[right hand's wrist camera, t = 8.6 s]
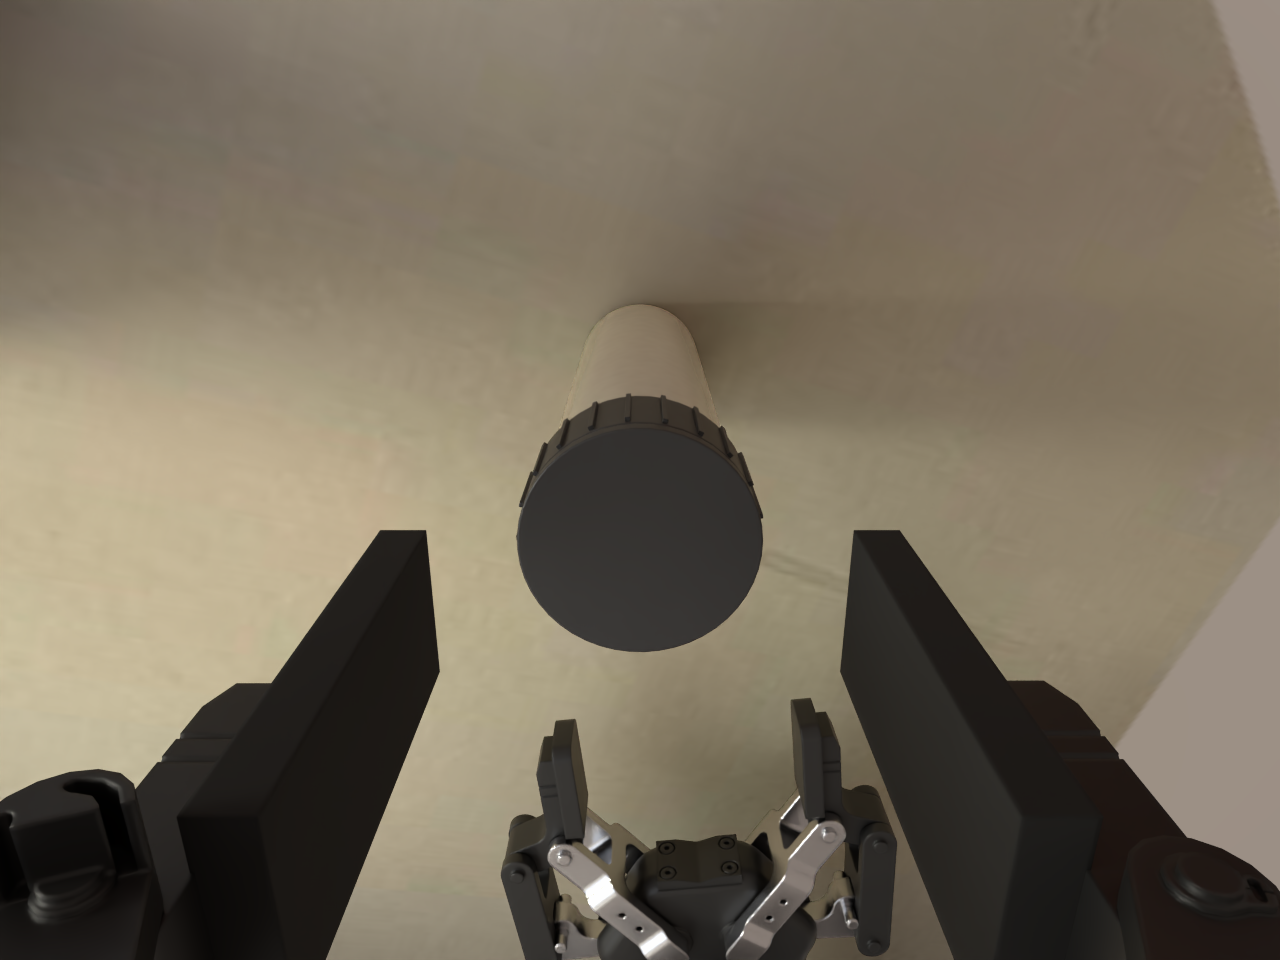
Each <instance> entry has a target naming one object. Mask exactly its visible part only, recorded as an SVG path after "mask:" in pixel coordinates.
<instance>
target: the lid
mask: <svg viewBox="0 0 1280 960" xmlns="http://www.w3.org/2000/svg"><path fill="white" fill-rule="evenodd" d="M753 485H754V484H753V481H752V479H751V476H750V473H749V470H748V467H747V465H746V462H745V459H744V456H743V454H742V452H740V453H737V451H736V449H735V447H734V445H733V444H732V443H731V441H730V440H729V438H728V437H727V434H726V431H725V428H724V427H723V426H721V427H720V428H719V427H718V426H717V425H716V424H715V423H713V422H712V421H711V420H710V419H708V418H707V417H706V416H705V415H703V414H701V413H700V412H699V409H698V408H697V407H696V406H694V407H693V408H691V407H688V406H686V405H684V404H681V403H679V402H676V401H672V400H669V399H666V396H665V395H661V397H660V398H659V397H652V396H631V393H628V394H626V397H620V398H616V399H611V400H607V401H604V402H601V403H599V404H598V402H597V401H595V402H593V403H592V406H591V407H589V408H588V409H586V410H584V411H582V412H580V413H579V414H577V415H576V416H574V417H573V418H572V419H570V420H568V418H566V419H565V420H564V421H563V424H562V427H561V428H560V429H559V430H558V431H557V432H556V433H555V435H554V436H553V437H552V438H551V440H550V441H549V442H548V444H546V443H545V442H544V443H543V445H542V447H541V450H540V453H539V456H538V459H537V462H536V464H535V467H534V470H533V472H530V475H529V478H528V481H527V484H526V486H525V489H524V492H523V495H522V498H521V500H520V504H519V507H522V510H521V514H520V518H519V523H518V532H517V536H516V537H517V550H518V556H519V561H520V566H521V569H522V572H523V575H524V578H525V580H526V582H527V584H528V587H529V589H530V591H531V592H532V594H533V595H534V597H535V598H536V600H537V601H538V603H539V604H540V605H541V607H542V608H543V609H544V610H545V611H546V612H547V613H548V615H549V616H550V617H552V618H553V619H554V620H555V621H556V622H557V623H558V624H559V625H561V626H562V627H564V628H565V629H567V630H568V631H569V632H571V633H572V634H574V635H576V636H578V637H580V638H582V639H584V640H586V641H588V642H591V643H594V644H596V645H599V646H602V647H606V648H610V649H614V650H621V651H629V652H650V651H660V650H665V649H670V648H674V647H678V646H681V645H684V644H687V643H690V642H692V641H694V640H696V639H698V638H700V637H702V636H704V635H706V634H707V633H709V632H710V631H712V630H714V629H715V628H717V627H718V626H719V625H720V624H721V623H723V622H724V621H725V620H726V619H728V617H729V616H730V615H731V614H732V613H733V612H734V611H735V610H736V609H737V608H738V607H739V605H740V604H741V603H742V601H743V600H744V599H745V597H746V596H747V594H748V592H749V590H750V588H751V587H752V585H753V583H754V580H755V578H756V575H757V572H758V570H759V565H760V561H761V557H762V547H763V532H762V523H761V518H763V514H762V511H761V508H760V505H759V502H758V499H757V497H756V494H755V491H754V488H753Z"/></svg>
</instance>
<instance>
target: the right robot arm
mask: <svg viewBox="0 0 1280 960" xmlns="http://www.w3.org/2000/svg"><path fill="white" fill-rule="evenodd" d="M439 672H440V669H439V659H438V648H437V638H436V628H435V617H434V607H433V596H432V586H431V576H430V565H429V555H428V545H427V534H426V530H380V532H379V533H378V534H377V536H376V537H375V539H374V540H373V541H372V543H371V544H370V546H369V547H368V548H367V550H366V551H365V553H364V554H363V555H362V557H361V558H360V560H359V561H358V562H357V564H356V565H355V567H354V568H353V569H352V571H351V572H350V574H349V575H348V576H347V578H346V579H345V581H344V582H343V583H342V585H341V586H340V588H339V589H338V590H337V592H336V593H335V595H334V596H333V597H332V599H331V600H330V602H329V603H328V605H327V606H326V607H325V609H324V610H323V612H322V613H321V614H320V616H319V617H318V619H317V620H316V621H315V623H314V624H313V626H312V627H311V628H310V630H309V631H308V633H307V634H306V635H305V637H304V638H303V640H302V641H301V642H300V644H299V645H298V647H297V648H296V649H295V651H294V652H293V654H292V655H291V656H290V658H289V659H288V661H287V662H286V663H285V665H284V666H283V668H282V669H281V670H280V672H279V673H278V675H277V676H276V678H275V679H274V680H273V682H272V683H237V684H235V685H234V686H232V687H231V688H229V689H228V690H226V691H225V692H223V693H222V694H220V695H219V696H217V697H216V698H214V699H213V700H211V701H210V702H208V703H207V704H206V705H204V706H203V707H202V708H201V709H200V710H199V711H198V713H197V714H196V715H195V716H194V718H193V719H192V720H191V721H190V723H189V724H188V725H187V726H186V728H185V729H184V730H183V731H182V732H181V736H180V739H176V740H175V741H174V742H173V744H172V745H171V746H170V747H169V749H168V750H167V751H166V752H165V753H164V755H163V756H162V761H161V762H157V763H156V765H155V766H154V767H153V768H152V770H151V771H150V772H149V773H148V774H147V776H146V777H145V778H144V779H143V781H142V782H141V783H140V784H139V786H138V787H137V788H136V789H135V787H134V784H133V783H132V782H131V781H130V780H128V779H127V778H126V777H125V776H124V775H122V774H121V773H117V772H112V771H106V770H100V769H95V770H85V771H75V772H68V773H65V774H61V775H58V776H55V777H51V778H48V779H45V780H41V781H38V782H36V783H34V784H32V785H30V786H28V787H26V788H24V789H22V790H20V791H18V792H16V793H14V794H12V795H10V796H8V797H6V798H4V799H3V800H2V801H0V960H326V958H327V955H328V953H329V950H330V947H331V945H332V942H333V940H334V937H335V935H336V932H337V930H338V927H339V925H340V922H341V920H342V917H343V915H344V912H345V910H346V907H347V905H348V902H349V900H350V897H351V894H352V892H353V889H354V887H355V884H356V882H357V879H358V877H359V874H360V872H361V869H362V867H363V864H364V862H365V859H366V857H367V854H368V852H369V849H370V846H371V844H372V841H373V839H374V836H375V834H376V831H377V829H378V826H379V824H380V821H381V819H382V816H383V814H384V811H385V809H386V806H387V804H388V801H389V798H390V796H391V793H392V791H393V788H394V786H395V783H396V781H397V778H398V776H399V773H400V771H401V768H402V766H403V763H404V761H405V758H406V756H407V753H408V751H409V748H410V745H411V743H412V740H413V738H414V735H415V733H416V730H417V728H418V725H419V723H420V720H421V718H422V715H423V713H424V710H425V708H426V705H427V703H428V700H429V697H430V695H431V692H432V690H433V687H434V685H435V682H436V680H437V677H438V675H439ZM840 672H841V675H842V677H843V680H844V682H845V685H846V687H847V690H848V692H849V695H850V697H851V700H852V703H853V705H854V708H855V710H856V713H857V715H858V718H859V720H860V723H861V725H862V728H863V730H864V733H865V735H866V738H867V740H868V743H869V745H870V748H871V750H872V753H873V756H874V758H875V761H876V763H877V766H878V768H879V771H880V773H881V776H882V778H883V781H884V783H885V786H886V788H887V791H888V793H889V796H890V798H891V801H892V804H893V806H894V809H895V811H896V814H897V816H898V819H899V821H900V824H901V826H902V829H903V831H904V834H905V836H906V839H907V841H908V844H909V846H910V849H911V852H912V854H913V857H914V859H915V862H916V864H917V867H918V869H919V872H920V874H921V877H922V879H923V882H924V884H925V887H926V889H927V892H928V894H929V897H930V900H931V902H932V905H933V907H934V910H935V912H936V915H937V917H938V920H939V922H940V925H941V927H942V930H943V932H944V935H945V937H946V940H947V942H948V945H949V947H950V950H951V953H952V955H953V958H954V960H1280V891H1279V890H1278V888H1277V887H1276V886H1275V885H1274V884H1273V883H1272V882H1271V881H1270V880H1268V879H1267V878H1266V877H1265V876H1264V875H1263V874H1261V873H1260V872H1259V871H1258V870H1257V869H1255V868H1254V867H1253V866H1252V865H1250V864H1249V863H1247V862H1245V861H1243V860H1241V859H1240V858H1238V857H1236V856H1234V855H1232V854H1231V853H1229V852H1227V851H1225V850H1223V849H1221V848H1218V847H1216V846H1212V845H1209V844H1207V843H1204V842H1201V841H1198V840H1195V839H1192V838H1187V837H1186V836H1185V834H1184V833H1183V832H1182V831H1181V830H1180V828H1179V827H1178V826H1177V825H1176V823H1175V822H1174V821H1173V820H1172V818H1171V817H1170V816H1169V815H1168V814H1167V812H1166V811H1165V810H1164V809H1163V807H1162V806H1161V805H1160V804H1159V803H1158V801H1157V800H1156V799H1155V798H1154V796H1153V795H1152V794H1151V793H1150V791H1149V790H1148V789H1147V788H1146V787H1145V785H1144V784H1143V783H1142V782H1141V780H1140V779H1139V778H1138V777H1137V775H1136V774H1135V773H1134V772H1133V771H1132V769H1131V768H1130V767H1129V766H1128V764H1127V763H1126V762H1125V761H1124V760H1123V759H1119V756H1118V752H1117V751H1116V750H1115V748H1114V747H1113V746H1112V745H1111V744H1110V742H1109V741H1108V740H1107V739H1106V737H1105V736H1101V735H1100V730H1099V729H1098V728H1097V726H1096V725H1095V724H1094V723H1093V721H1092V720H1091V719H1090V718H1089V717H1088V715H1087V714H1086V713H1085V712H1084V710H1083V709H1082V708H1081V707H1080V706H1079V704H1078V703H1076V702H1075V701H1073V700H1072V699H1070V698H1069V697H1067V696H1066V695H1064V694H1063V693H1061V692H1060V691H1058V690H1057V689H1055V688H1054V687H1052V686H1051V685H1049V684H1048V683H1046V682H1045V681H1007V680H1006V679H1005V677H1004V676H1003V675H1002V673H1001V672H1000V670H999V669H998V668H997V666H996V665H995V663H994V662H993V661H992V659H991V658H990V656H989V655H988V654H987V652H986V651H985V649H984V648H983V647H982V645H981V644H980V642H979V641H978V640H977V638H976V637H975V635H974V634H973V633H972V631H971V630H970V628H969V627H968V626H967V624H966V623H965V621H964V620H963V619H962V617H961V616H960V614H959V613H958V612H957V610H956V609H955V607H954V606H953V605H952V603H951V602H950V600H949V599H948V597H947V596H946V595H945V593H944V592H943V590H942V589H941V588H940V586H939V585H938V583H937V582H936V581H935V579H934V578H933V576H932V575H931V574H930V572H929V571H928V569H927V568H926V567H925V565H924V564H923V562H922V561H921V560H920V558H919V557H918V555H917V554H916V553H915V551H914V550H913V548H912V547H911V546H910V544H909V543H908V541H907V540H906V539H905V537H904V536H903V534H902V533H901V532H900V530H854V534H853V545H852V555H851V565H850V576H849V586H848V597H847V607H846V617H845V628H844V638H843V648H842V659H841V669H840Z"/></svg>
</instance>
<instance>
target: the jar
mask: <svg viewBox="0 0 1280 960" xmlns="http://www.w3.org/2000/svg"><path fill="white" fill-rule="evenodd" d="M628 393H631V396H652V397H659V398H660V397H661V395H665V396H666V399H669V400H672V401H676V402H679V403H681V404H684V405H686V406H688V407H691V408H693V407H694V406H696V407H697V408H698V409H699V412H700V413H701V414H703V415H705V416H706V417H707V418H708V419H710V420H711V421H712V422H713V423H715V424H716V425H717V426H718V427H719V428H720V427H721V426H720V423H719V419H718V416H717V413H716V410H715V407H714V403H713V400H712V397H711V394H710V390H709V387H708V384H707V381H706V377H705V374H704V371H703V368H702V365H701V361H700V358H699V355H698V352H697V348H696V345H695V343H694V340H693V337H692V336H691V334H690V332H689V330H688V329H687V328H686V326H685V325H684V324H683V323H682V322H681V321H680V320H679V319H678V318H677V317H676V316H674V315H673V314H671V313H670V312H668V311H666V310H664V309H662V308H659V307H655V306H651V305H642V304H636V305H629V306H625V307H621V308H619V309H616V310H614V311H612V312H610V313H609V314H607V315H606V316H604V317H603V318H602V319H601V320H600V321H599V322H598V323H597V324H596V325H595V326H594V328H593V329H592V330H591V332H590V334H589V335H588V338H587V340H586V342H585V345H584V348H583V352H582V355H581V358H580V361H579V365H578V368H577V371H576V374H575V378H574V381H573V384H572V387H571V390H570V394H569V397H568V400H567V403H566V407H565V410H564V413H563V416H562V420H561V423H560V426H559V429H560V428H561V427H562V424H563V421H564V420H565V419H566V418H568V420H570V419H572V418H573V417H574V416H576V415H577V414H579V413H580V412H582V411H584V410H586V409H588V408H589V407H591V406H592V403H593V402H595V401H597V402H598V404H599V403H601V402H604V401H607V400H611V399H616V398H620V397H626V394H628ZM559 429H558V430H559Z"/></svg>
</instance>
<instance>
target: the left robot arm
mask: <svg viewBox="0 0 1280 960" xmlns="http://www.w3.org/2000/svg"><path fill="white" fill-rule="evenodd" d="M791 718H792V736H793V754H794V771H795V780H796V784H797V789H796V790H795V792H794V793H793V794H792V795H791V797H790V798H789V799H788V800H787V801H786V803H785V804H784V805H783V806H782V808H781V809H780V810H778V811H777V810H775V809H772V810H770V811H769V812H768V813H767V814H766V816H765V817H764V818H763V819H762V820H761V822H760V823H759V824H758V825H757V827H756V828H755V829H754V830H753V831H752V833H751V834H750V835H749V836H748V838H747V839H746V840H745V841H744V842H742V841H737V838H736V834H734V835H722V836H715V837H712V838H708V839H705V840H702V841H698V842H692V841H684V840H665V841H656V848H654V849H651V850H650V849H649V848H648V847H647V846H645V845H644V844H643V843H642V842H641V841H639V840H638V839H637V838H636V837H635V836H633V835H632V834H631V833H630V832H629V831H627V830H626V829H625V828H624V827H623V826H621V825H620V824H618V823H614V824H612V825H609V824H607V823H606V822H605V821H604V820H602V819H601V818H600V817H599V816H598V815H596V814H595V813H594V812H593V811H591V810H590V809H589V808H588V807H587V802H588V791H587V785H586V778H585V772H584V766H583V760H582V754H581V748H580V742H579V735H578V729H577V723H576V720H575V719H569V720H558V721H556V722H555V728H554V735H553V736H547V737H544V739H543V743H542V746H541V750H540V756H539V762H538V768H537V774H536V775H537V780H538V786H539V791H540V796H541V802H542V807H543V812H544V814H543V815H541V816H539V817H537V818H536V817H534V816H531V815H526V814H524V815H519V816H517V817H515V818H514V819H513V820H512V822H511V825H510V830H509V841H508V847H507V852H506V857H505V860H504V861H503V866H502V871H501V878H502V882H503V885H504V888H505V892H506V895H507V899H508V902H509V905H510V909H511V912H512V915H513V919H514V922H515V925H516V929H517V932H518V936H519V939H520V942H521V946H522V949H523V952H524V956H525V959H526V960H573V959H581V958H588V957H596V956H600V958H601V960H806V957H807V954H808V953H809V951H810V950H811V948H812V947H813V945H814V943H815V940H816V938H839V937H855V939H856V943H857V946H858V949H859V951H860V952H861V953H862V954H864V955H866V956H878V955H881V954H883V953H884V952H886V951H887V949H888V948H889V945H890V933H891V919H892V905H893V892H894V878H895V864H896V851H897V841H896V838H895V835H894V833H893V830H892V828H891V825H890V822H889V820H888V817H887V814H886V812H885V809H884V807H883V804H882V801H881V799H880V796H879V793H878V791H877V790H876V789H875V788H874V787H872V786H869V785H861V786H857V787H855V788H854V789H852V790H847V789H844V788H842V784H841V761H840V760H841V754H840V745H839V743H838V740H837V737H836V734H835V731H834V728H833V725H832V722H831V721H830V719H829V717H828V715H827V713H826V712H817V713H815V710H814V706H813V703H812V700H811V698H805V699H794V700H791ZM842 842H845V864H844V872H843V871H836V872H835V873H834V874H833V878H834V881H833V882H832V883H831V884H830V885H829V887H828V891H827V893H826V895H825V896H824V897H823V898H821V899H820V900H817V901H812V902H810V899H809V897H808V896H809V894H810V893H811V892H812V890H813V887H814V883H815V876H816V873H817V871H818V870H819V869H820V868H821V866H822V865H823V864H824V863H825V862H826V861H827V860H828V858H829V857H830V856H831V855H832V854H833V853H834V852H835V850H836V849H837V848H838V847H839V846H840V845H841V843H842ZM552 867H553V868H554V869H556V870H557V871H558V872H560V873H561V874H562V875H563V876H565V877H566V878H567V879H568V880H570V881H571V882H572V883H573V884H575V885H576V886H577V887H579V888H580V889H581V890H582V891H583V892H584V893H585V895H586V897H587V901H588V903H589V905H590V907H591V908H592V910H593V911H594V912H595V913H597V914H598V915H599V918H598V919H596V920H593V919H588V918H586V917H584V916H582V915H581V913H580V912H579V910H578V908H577V907H576V906H575V905H574V904H572V903H571V901H572V898H571V896H570V895H568V894H562V895H561V896H560V894H559V890H558V886H557V882H556V879H555V875H554V871H553V868H552ZM625 873H626V874H627V875H626V876H625Z"/></svg>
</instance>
